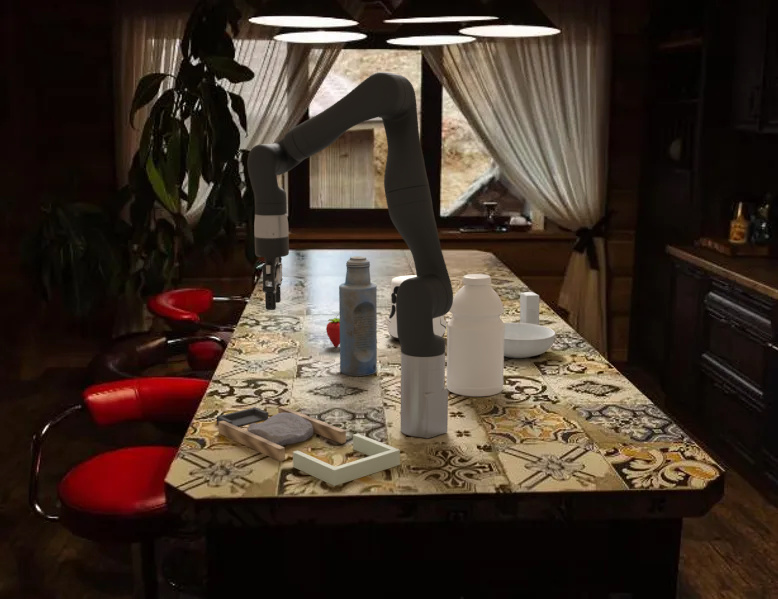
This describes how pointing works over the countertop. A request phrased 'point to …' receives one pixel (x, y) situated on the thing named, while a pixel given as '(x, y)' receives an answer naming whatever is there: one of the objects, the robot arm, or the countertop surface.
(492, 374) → the bottle
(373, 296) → the bottle
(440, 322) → the milk container
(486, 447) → the countertop surface
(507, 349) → the serving bowl
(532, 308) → the skincare box
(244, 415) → the dark gray shallow tray
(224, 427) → the channel
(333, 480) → the u-shaped green frame
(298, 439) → the stone block
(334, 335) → the strawberry
